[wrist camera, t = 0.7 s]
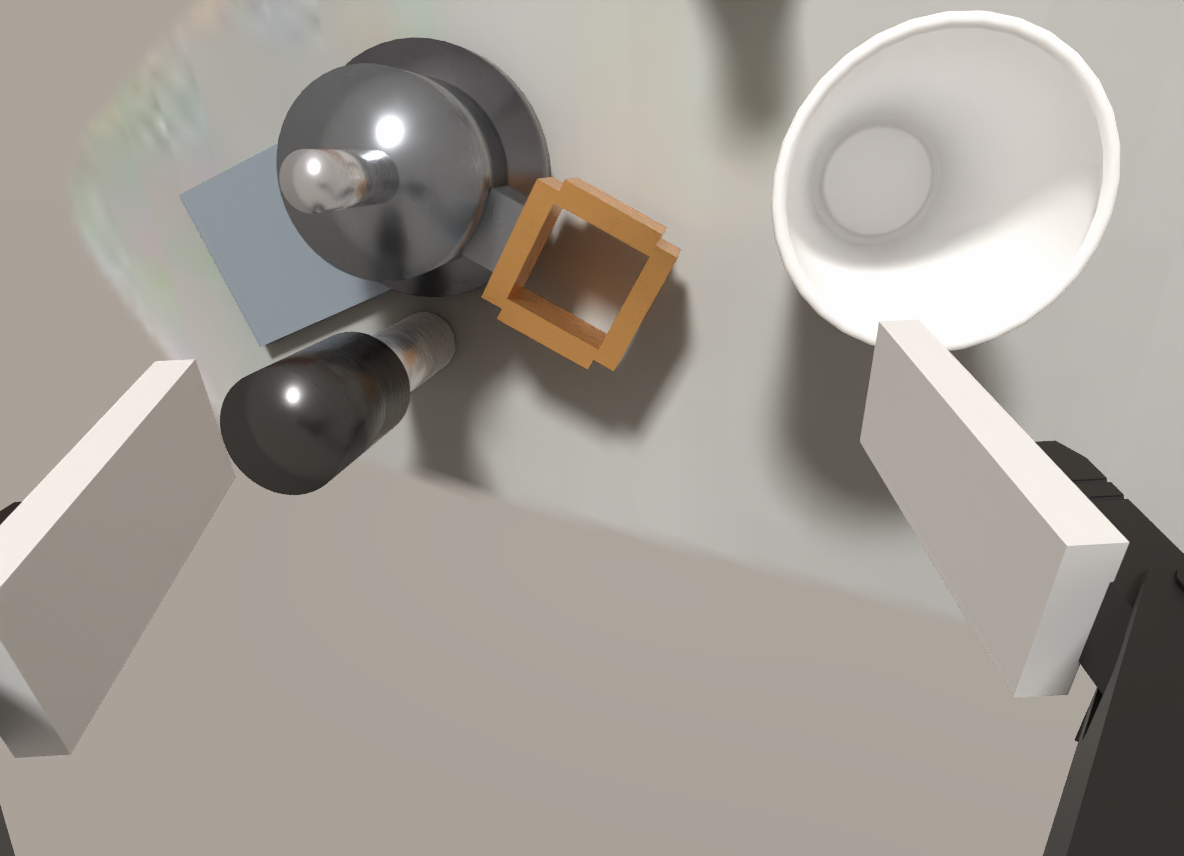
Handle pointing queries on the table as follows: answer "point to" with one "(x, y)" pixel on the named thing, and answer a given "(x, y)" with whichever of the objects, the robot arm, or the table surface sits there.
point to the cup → (946, 178)
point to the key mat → (268, 252)
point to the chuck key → (329, 402)
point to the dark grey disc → (504, 111)
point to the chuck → (444, 200)
